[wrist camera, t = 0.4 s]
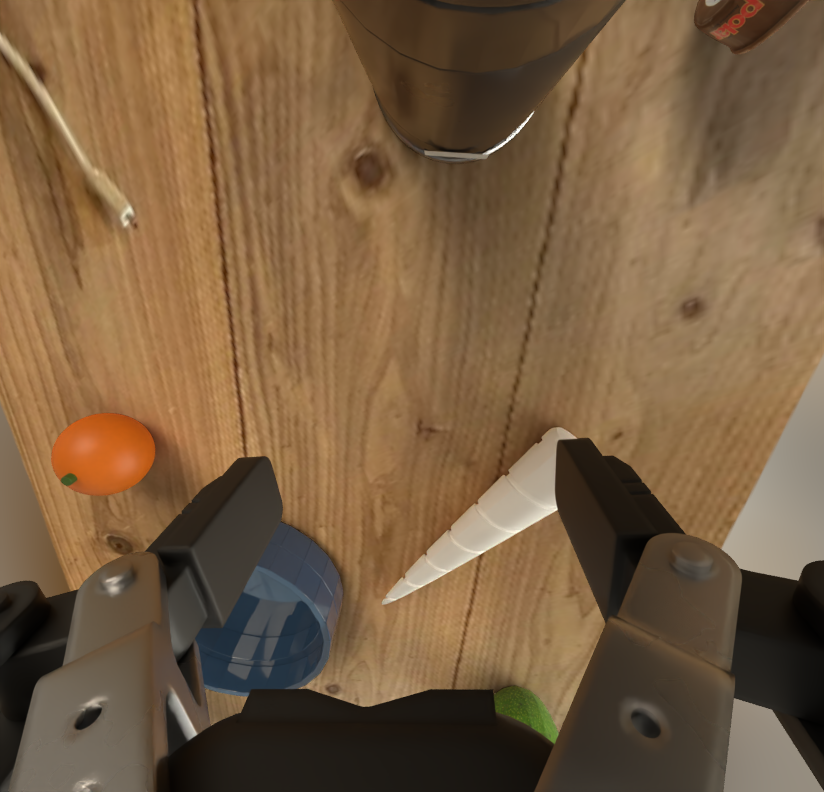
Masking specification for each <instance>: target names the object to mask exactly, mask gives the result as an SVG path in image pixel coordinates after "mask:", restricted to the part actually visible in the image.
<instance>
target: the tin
mask: <svg viewBox="0 0 824 792" xmlns="http://www.w3.org/2000/svg"><path fill="white" fill-rule="evenodd" d="M808 1H809V0H699V2H698V4H697V7H696V11H695V16H694V23H695V25H696V27H697V28H698V29H700V30H701V31H702V32H704V33H705V34H706V35H708V36H710V37H712V38H714V39H715V40H717V41H719V42H721V43H723V44H725V45H727V46H728V47H730V49H731V52H732V53H733V54H736V55H739V54H743V53H746V52H748V51H750V50H752V49H754V48H755V47H757V46H758V45H760V44H761V43H762V42H764V41H765V40H766V39H768V38H769V37H770V36H771V35H772V34H774V33H775V32H776V31H778V30H779V29H780V28H781V27H782V26H783V25H784V24H785V23H786V22H787V21H788V20H789V19H790V18H792V17H793V16H794V15H795V14H796V13H797V12H798V11H799V10H800V9H801V8H802V7H803V6H804V5H805V4H806V3H807V2H808Z"/></svg>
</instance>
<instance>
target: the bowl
mask: <svg viewBox="0 0 824 792" xmlns="http://www.w3.org/2000/svg"><path fill="white" fill-rule="evenodd" d="M342 601H343V588H342V584H341V579H340V575H339V573H338V571H337V570H336V568H335V566H334V564H333V563H332V561H331V559H330V558H329V556H328V555H327V554H326V553H325V552H324V551H323V550H322V549H321V548H320V547H319V546H318V545H317V544H316V543H315V542H314V541H313V540H312V539H310V538H309V537H307V536H305V535H304V534H302V533H301V532H300V531H298V530H296V529H295V528H293V527H291V526H290V525H287V524H285V523H282V522H280V524H279V526H278V527H277V529H276V531H275V533H274V535H273V537H272V538H271V540H270V542H269V544H268V546H267V548H266V549H265V551H264V553H263V555H262V557H261V559H260V560H259V562H258V564H257V566H256V568H255V570H254V571H253V573H252V575H251V577H250V579H249V581H248V582H247V584H246V586H245V588H244V590H243V592H242V593H241V595H240V597H239V599H238V601H237V603H236V604H235V606H234V608H233V610H232V612H231V614H230V615H229V617H228V619H227V621H226V623H225V625H224V626H223V628H201V629H200V631H199V632H198V634H197V636H196V637H195V640H196V642H197V644H198V648H199V654H200V660H201V667H202V674H203V680H204V687H205V688H206V689H209V690H212V691H215V692H219V693H225V694H231V695H236V696H248V695H249V693H250V690H251V689H297V688H300V687H302V686H305V685H306V684H308V683H309V682H310V681H311V680H313V679H314V678H315V677H316V676H318V675H319V674H320V673H321V671H322V669H323V668H324V666H325V664H326V663H327V661H328V659H329V656H330V652H331V648H332V644H333V640H334V636H335V632H336V628H337V624H338V620H339V616H340V612H341V608H342Z"/></svg>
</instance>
